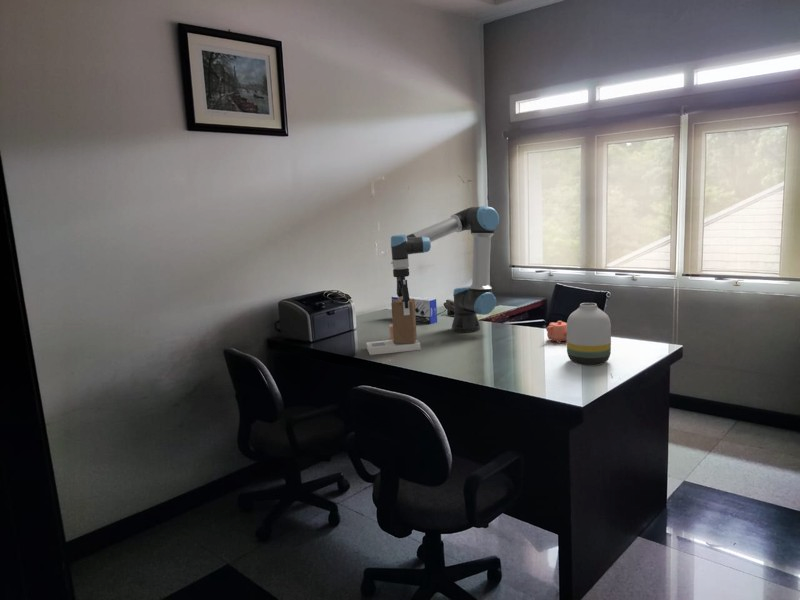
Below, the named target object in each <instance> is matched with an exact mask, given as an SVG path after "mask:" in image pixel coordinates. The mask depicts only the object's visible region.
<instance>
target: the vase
mask: <svg viewBox="0 0 800 600" xmlns="http://www.w3.org/2000/svg"><path fill="white" fill-rule="evenodd" d="M566 320H567V321H566V323H567V342H566V353H567V356H568V358H569V360H570V361H571V362H573V363H575V364H577V365H582V366H598V365H599V366H600V365H602V364H604V363H607V362H608V361H609V359H610V356H611V353H612V352H611V349H612V324H611V319H610V317H609V315H608V314H607V313H606V312H604V311H603V310H602V309H600V308H599V307H598V305H597V303H595V302H582V303H580V304H579V307H578V308H577V309H575V310H574V311H572V312H571V313H570V315H569V316H568V318H567V319H566Z"/></svg>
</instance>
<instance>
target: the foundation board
mask: <svg viewBox="0 0 800 600" xmlns="http://www.w3.org/2000/svg"><path fill="white" fill-rule="evenodd" d="M365 343H366V350H367V352H368V353H369V355H370V356H374V355H383V354H392V353H402V352H411V351H412V352H413V351H421V343H420V341H418V340H417V339H416V341H415V343H414V344H394V340H390V339H389V340H388V339H386V340H377V341H367V342H365Z"/></svg>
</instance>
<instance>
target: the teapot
mask: <svg viewBox="0 0 800 600" xmlns="http://www.w3.org/2000/svg"><path fill="white" fill-rule="evenodd" d="M545 330H546V332H547V339H548V340H550V341H551V342H556V343H557V344H561V343H562V341H565V342H566V343H567V322H565V321H562V320H557V322H554V321H553V322H549V324H548V326H547V327H546V329H545Z"/></svg>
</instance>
